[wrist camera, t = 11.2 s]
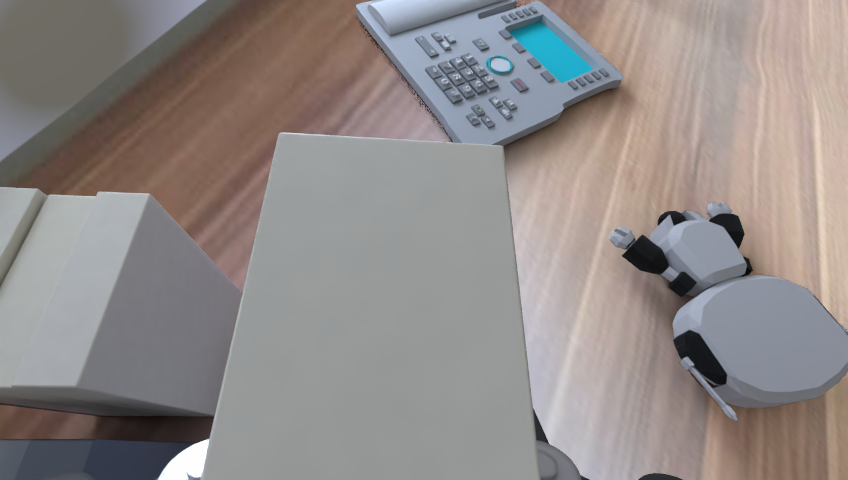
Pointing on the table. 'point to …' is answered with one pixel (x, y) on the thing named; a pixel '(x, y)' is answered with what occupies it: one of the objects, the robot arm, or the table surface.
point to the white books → (109, 308)
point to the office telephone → (488, 63)
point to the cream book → (379, 321)
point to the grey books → (86, 458)
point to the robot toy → (739, 314)
